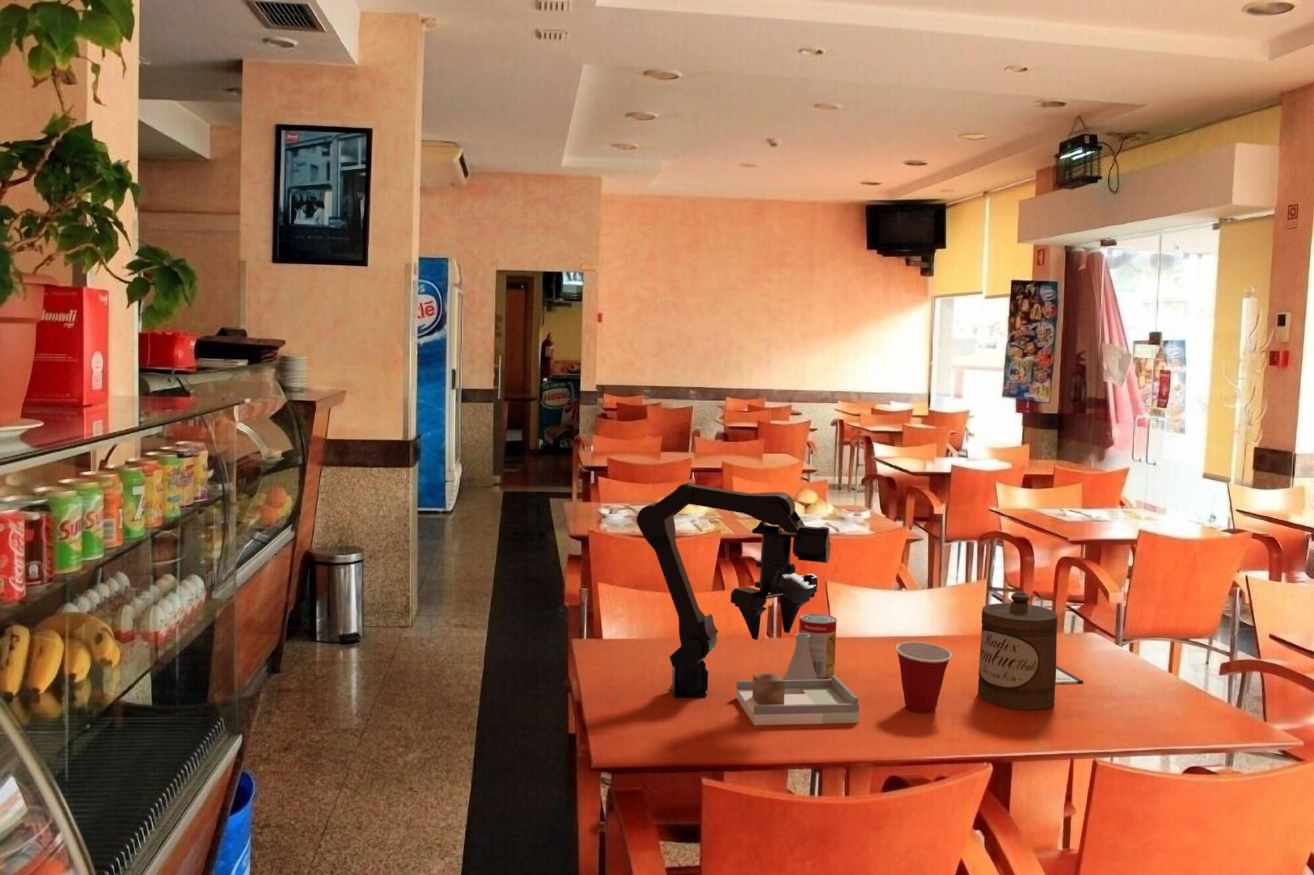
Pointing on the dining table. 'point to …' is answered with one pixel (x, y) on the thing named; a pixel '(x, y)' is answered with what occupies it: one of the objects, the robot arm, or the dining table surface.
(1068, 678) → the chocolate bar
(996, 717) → the dining table surface
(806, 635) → the flask
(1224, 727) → the dining table surface
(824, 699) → the box
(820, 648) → the canned food
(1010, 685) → the wooden container
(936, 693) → the plastic cup
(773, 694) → the walnut block
